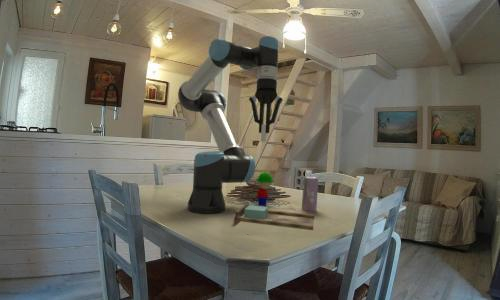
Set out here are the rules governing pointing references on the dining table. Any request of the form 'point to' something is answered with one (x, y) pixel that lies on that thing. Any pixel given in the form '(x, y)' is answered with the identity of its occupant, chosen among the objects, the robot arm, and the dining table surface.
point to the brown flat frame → (278, 219)
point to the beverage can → (310, 193)
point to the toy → (263, 187)
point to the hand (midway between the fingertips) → (263, 141)
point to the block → (256, 212)
